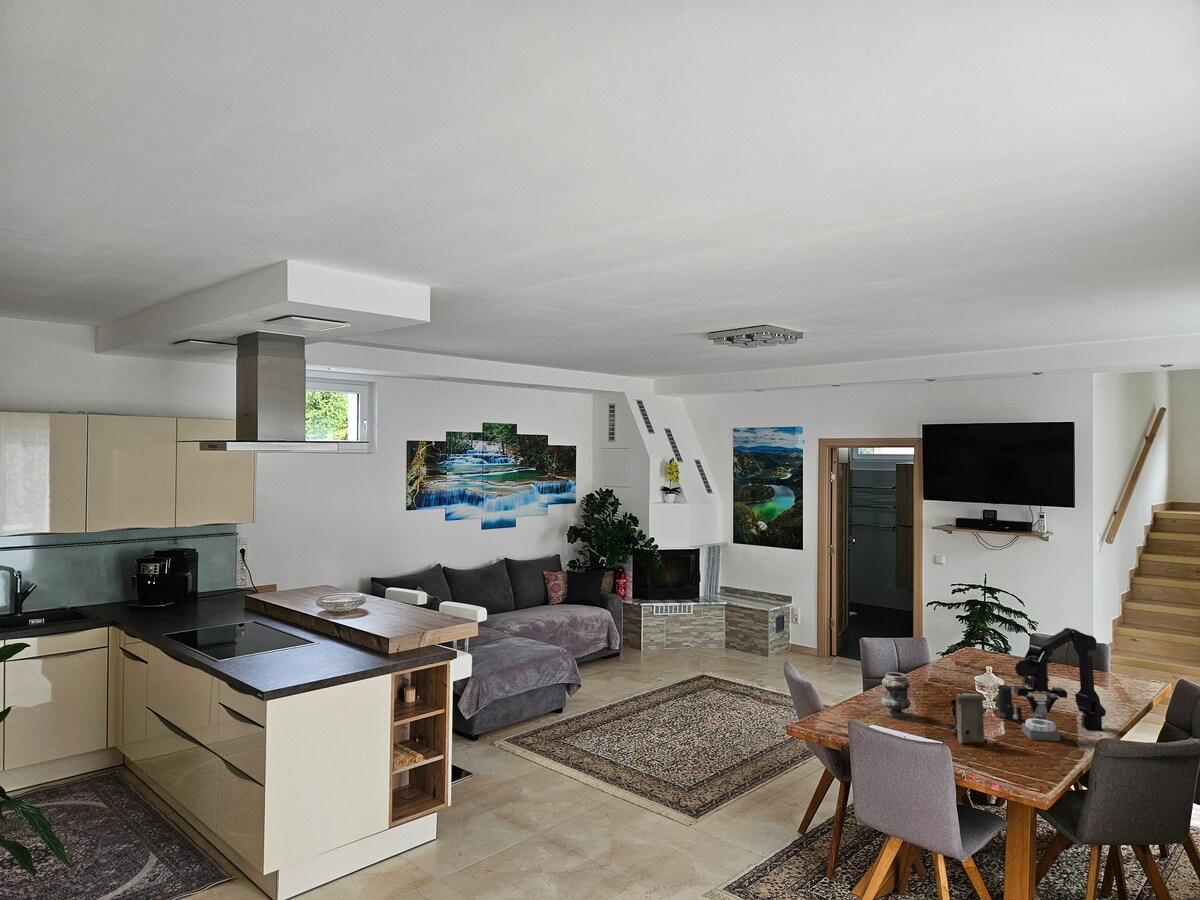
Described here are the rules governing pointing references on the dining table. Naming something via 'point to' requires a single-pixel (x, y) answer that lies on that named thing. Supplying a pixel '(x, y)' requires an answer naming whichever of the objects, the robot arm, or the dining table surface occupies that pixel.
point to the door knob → (1040, 709)
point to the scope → (1007, 704)
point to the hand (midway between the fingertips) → (1040, 712)
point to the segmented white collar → (1040, 730)
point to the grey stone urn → (896, 694)
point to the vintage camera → (968, 718)
